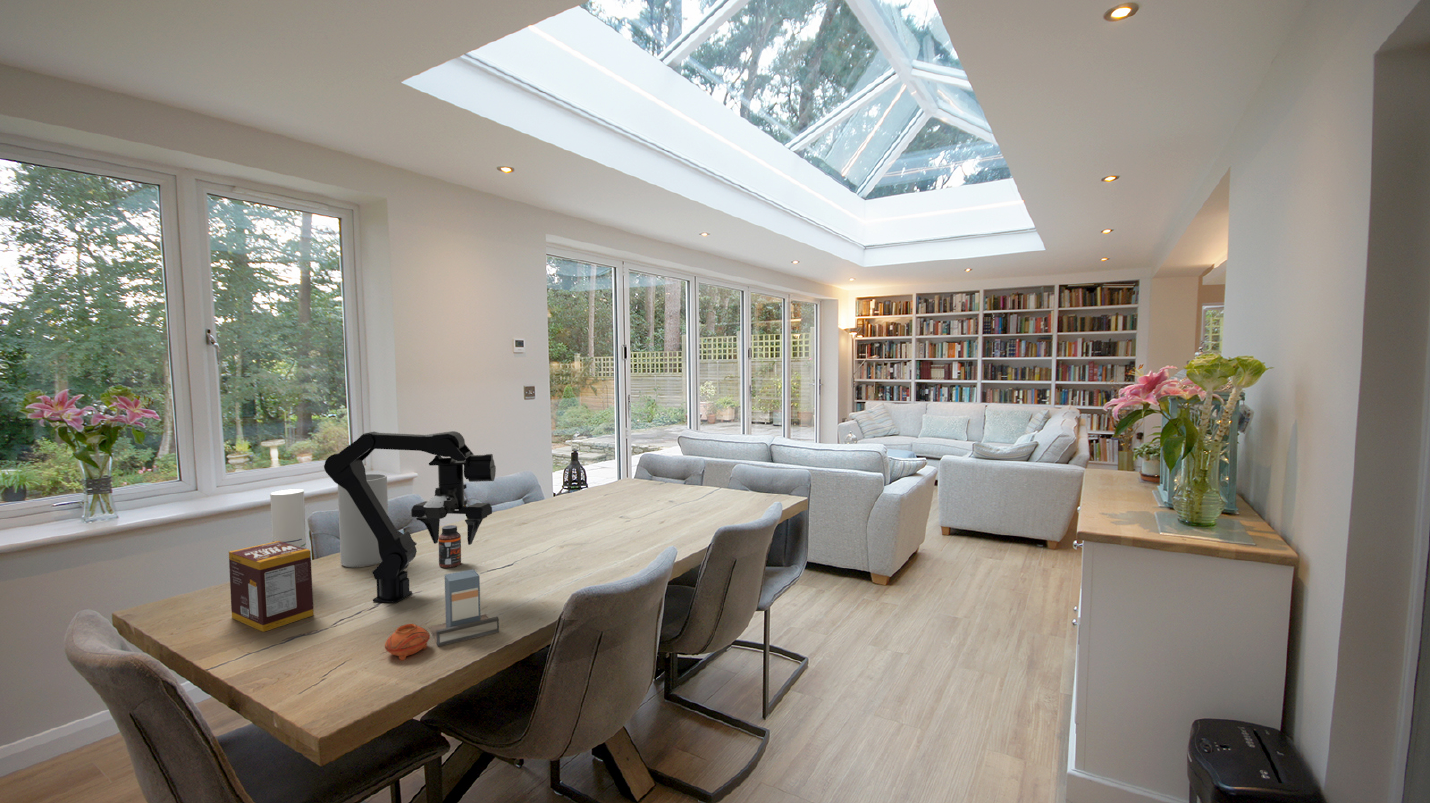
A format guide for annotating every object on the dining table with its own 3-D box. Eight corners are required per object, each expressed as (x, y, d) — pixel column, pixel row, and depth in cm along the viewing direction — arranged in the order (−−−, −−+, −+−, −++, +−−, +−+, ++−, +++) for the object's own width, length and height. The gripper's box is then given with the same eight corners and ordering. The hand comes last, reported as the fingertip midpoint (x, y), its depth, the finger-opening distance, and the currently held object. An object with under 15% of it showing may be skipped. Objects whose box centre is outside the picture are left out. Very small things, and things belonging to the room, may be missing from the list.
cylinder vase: (374, 568, 171) (371, 481, 170) (330, 568, 171) (327, 481, 170) (397, 554, 184) (395, 474, 182) (357, 554, 184) (354, 474, 182)
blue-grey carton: (446, 629, 129) (444, 574, 128) (475, 622, 132) (474, 569, 131) (450, 638, 124) (449, 581, 124) (481, 631, 128) (479, 575, 127)
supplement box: (281, 602, 146) (278, 539, 145) (314, 615, 139) (311, 549, 138) (230, 617, 137) (227, 551, 137) (262, 632, 130) (259, 562, 129)
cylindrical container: (268, 588, 155) (263, 493, 154) (296, 579, 162) (292, 488, 161) (286, 592, 153) (282, 495, 151) (314, 583, 159) (310, 490, 158)
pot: (428, 661, 116) (418, 630, 115) (386, 675, 114) (375, 643, 113) (438, 642, 124) (428, 612, 123) (398, 654, 122) (388, 624, 121)
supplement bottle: (452, 569, 170) (451, 529, 170) (434, 567, 172) (433, 528, 171) (465, 562, 176) (464, 524, 176) (447, 561, 177) (446, 523, 177)
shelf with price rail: (428, 631, 130) (428, 613, 130) (486, 618, 137) (485, 601, 136) (438, 651, 121) (437, 632, 120) (499, 636, 127) (498, 618, 127)
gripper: (395, 487, 143) (397, 552, 144) (468, 489, 140) (470, 555, 141) (424, 479, 154) (426, 539, 155) (492, 480, 151) (493, 541, 152)
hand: (452, 543), depth 150 cm, fingers open, 9 cm apart
